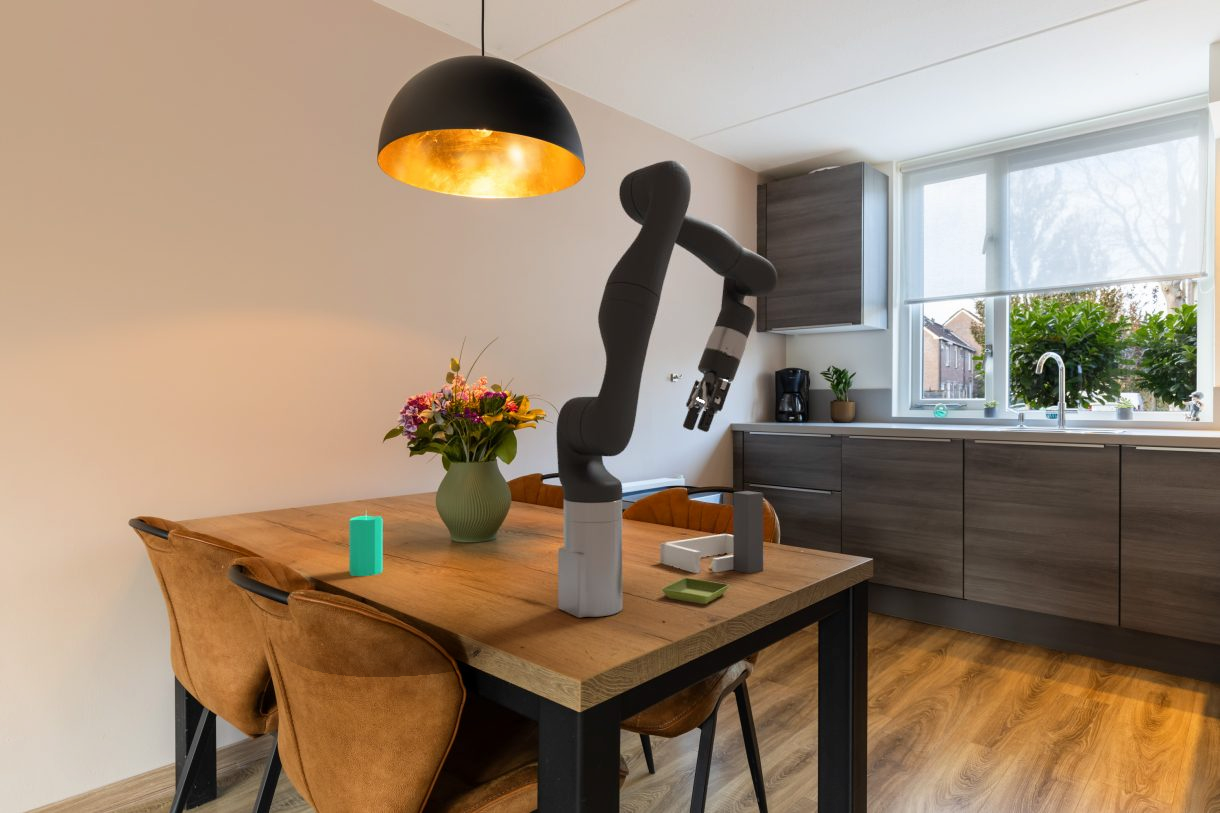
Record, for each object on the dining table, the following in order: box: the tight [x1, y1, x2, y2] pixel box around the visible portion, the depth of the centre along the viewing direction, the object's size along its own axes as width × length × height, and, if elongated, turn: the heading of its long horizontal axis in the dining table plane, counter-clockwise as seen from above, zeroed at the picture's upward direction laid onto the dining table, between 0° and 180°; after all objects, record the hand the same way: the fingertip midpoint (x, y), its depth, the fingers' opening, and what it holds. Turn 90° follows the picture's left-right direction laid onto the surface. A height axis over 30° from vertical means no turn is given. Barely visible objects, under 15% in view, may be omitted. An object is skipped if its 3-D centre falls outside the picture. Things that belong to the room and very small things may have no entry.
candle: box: [348, 509, 384, 577], centre depth 132 cm, size 6×6×12 cm
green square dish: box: [661, 577, 730, 605], centre depth 115 cm, size 9×9×2 cm
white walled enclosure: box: [660, 533, 733, 574], centre depth 141 cm, size 18×10×4 cm, turn 125°
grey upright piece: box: [712, 490, 765, 574], centre depth 134 cm, size 13×5×15 cm, turn 124°
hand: (694, 429), depth 137 cm, fingers open, 8 cm apart
